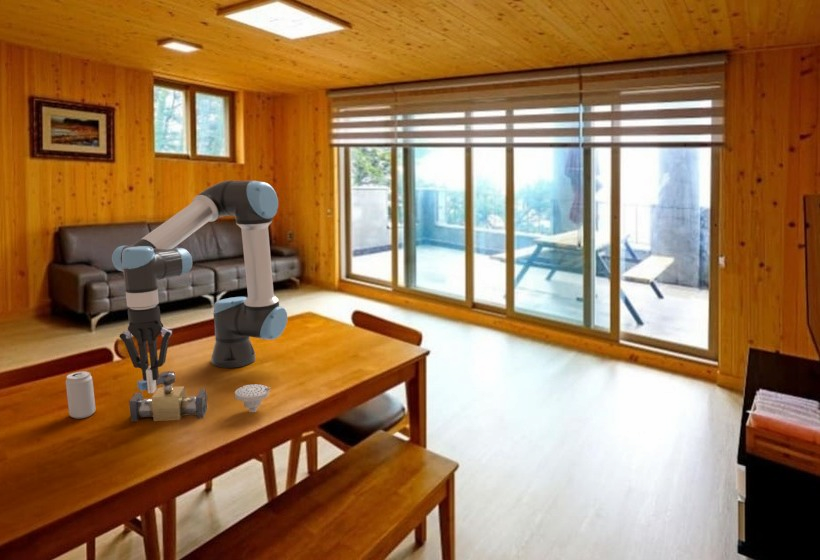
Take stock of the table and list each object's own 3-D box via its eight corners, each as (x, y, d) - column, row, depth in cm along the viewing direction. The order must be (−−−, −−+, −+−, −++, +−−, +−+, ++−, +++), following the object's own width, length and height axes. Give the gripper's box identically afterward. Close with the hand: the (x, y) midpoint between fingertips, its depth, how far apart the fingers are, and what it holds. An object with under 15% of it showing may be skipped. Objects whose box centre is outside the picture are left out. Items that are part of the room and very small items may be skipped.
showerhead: (267, 393, 154) (231, 394, 153) (268, 417, 155) (232, 418, 154) (273, 380, 163) (238, 381, 162) (274, 403, 164) (239, 404, 164)
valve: (153, 421, 152) (150, 388, 150) (160, 410, 159) (158, 378, 157) (180, 419, 153) (177, 387, 151) (186, 408, 160) (183, 377, 158)
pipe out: (131, 421, 152) (129, 401, 150) (138, 412, 158) (136, 392, 156) (154, 420, 153) (152, 400, 151) (160, 411, 158) (158, 391, 157)
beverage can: (89, 407, 160) (84, 368, 157) (100, 413, 156) (96, 373, 154) (65, 415, 155) (60, 375, 152) (76, 421, 151) (71, 380, 149)
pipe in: (180, 418, 154) (179, 398, 153) (185, 409, 160) (184, 390, 158) (203, 417, 155) (201, 397, 154) (207, 408, 161) (206, 389, 159)
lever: (170, 377, 157) (169, 370, 156) (178, 381, 154) (177, 373, 154) (136, 388, 149) (135, 380, 149) (143, 392, 147) (143, 383, 146)
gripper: (173, 301, 148) (181, 384, 152) (122, 303, 146) (132, 387, 151) (165, 308, 141) (173, 395, 145) (111, 310, 139) (121, 398, 144)
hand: (152, 391), depth 148 cm, fingers closed
